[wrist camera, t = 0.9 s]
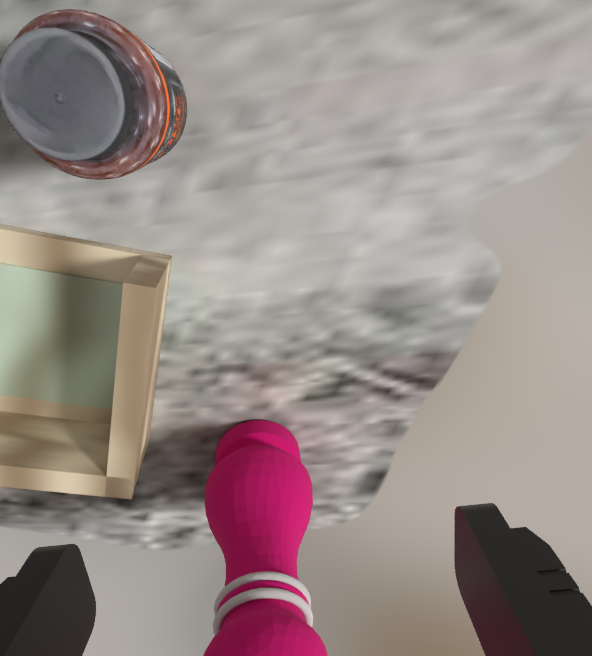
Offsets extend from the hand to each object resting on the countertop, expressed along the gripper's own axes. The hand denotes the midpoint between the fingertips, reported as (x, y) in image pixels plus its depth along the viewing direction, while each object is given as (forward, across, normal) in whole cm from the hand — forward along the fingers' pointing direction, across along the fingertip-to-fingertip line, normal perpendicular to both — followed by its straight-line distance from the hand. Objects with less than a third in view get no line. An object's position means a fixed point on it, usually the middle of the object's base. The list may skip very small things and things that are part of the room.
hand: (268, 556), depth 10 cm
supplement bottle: (+21, +7, -12) cm, 25 cm away
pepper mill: (+23, +3, +12) cm, 27 cm away
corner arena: (+21, +15, +1) cm, 26 cm away
